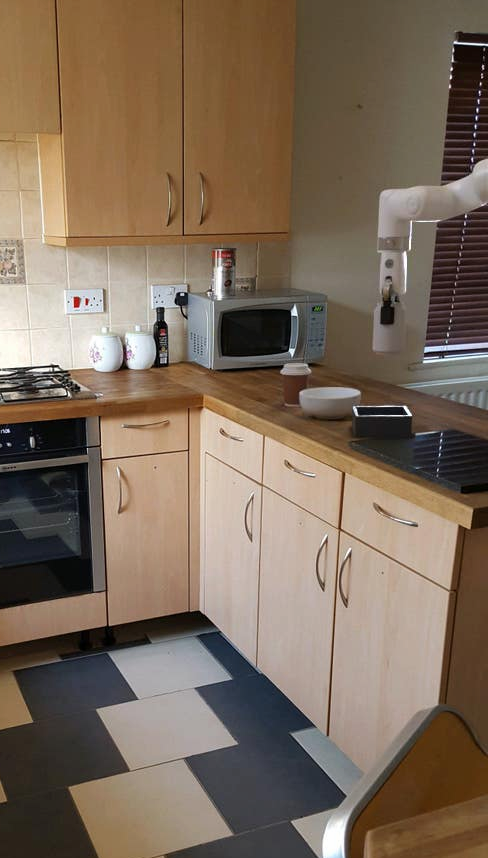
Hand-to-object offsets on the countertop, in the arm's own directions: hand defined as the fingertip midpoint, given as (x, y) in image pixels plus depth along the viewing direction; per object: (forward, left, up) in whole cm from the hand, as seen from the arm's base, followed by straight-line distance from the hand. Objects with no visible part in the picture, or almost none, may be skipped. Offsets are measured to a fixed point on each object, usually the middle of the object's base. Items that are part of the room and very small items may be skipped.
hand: (389, 322), depth 211 cm
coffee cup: (+32, -36, -28) cm, 56 cm away
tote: (+1, -3, -28) cm, 28 cm away
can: (0, 0, -7) cm, 7 cm away
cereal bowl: (+18, -20, -28) cm, 39 cm away
